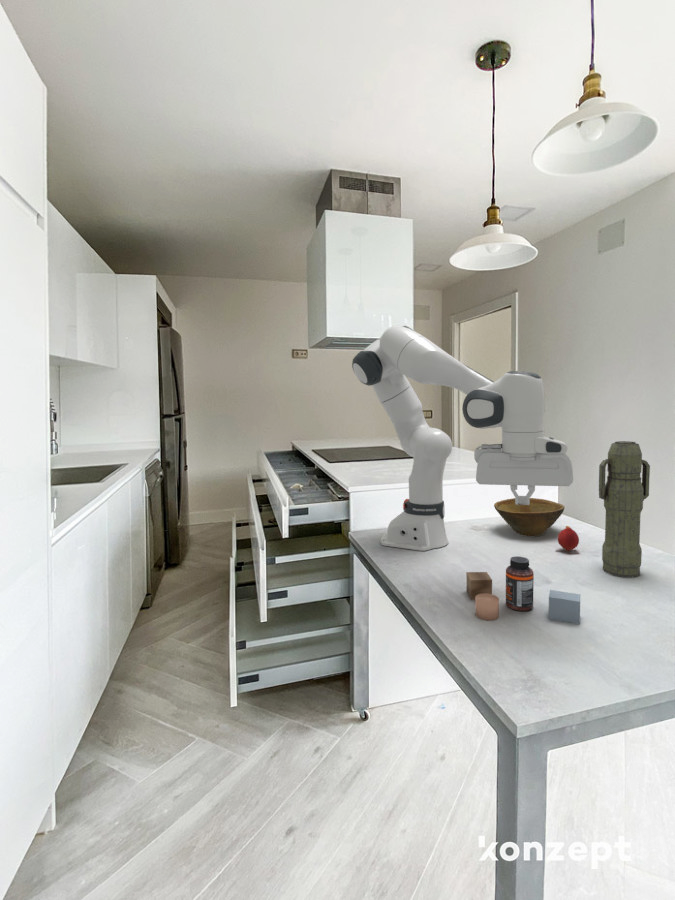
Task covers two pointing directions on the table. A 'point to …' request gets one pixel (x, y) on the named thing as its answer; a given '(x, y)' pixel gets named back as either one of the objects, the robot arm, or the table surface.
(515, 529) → the bowl
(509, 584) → the supplement bottle
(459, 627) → the table surface
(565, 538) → the onion
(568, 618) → the slate block
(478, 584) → the walnut cube
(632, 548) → the thermos
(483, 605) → the peach rounded cylinder
